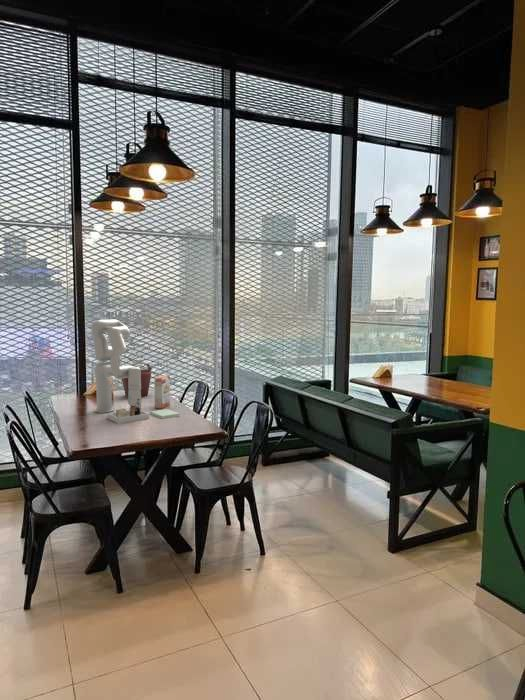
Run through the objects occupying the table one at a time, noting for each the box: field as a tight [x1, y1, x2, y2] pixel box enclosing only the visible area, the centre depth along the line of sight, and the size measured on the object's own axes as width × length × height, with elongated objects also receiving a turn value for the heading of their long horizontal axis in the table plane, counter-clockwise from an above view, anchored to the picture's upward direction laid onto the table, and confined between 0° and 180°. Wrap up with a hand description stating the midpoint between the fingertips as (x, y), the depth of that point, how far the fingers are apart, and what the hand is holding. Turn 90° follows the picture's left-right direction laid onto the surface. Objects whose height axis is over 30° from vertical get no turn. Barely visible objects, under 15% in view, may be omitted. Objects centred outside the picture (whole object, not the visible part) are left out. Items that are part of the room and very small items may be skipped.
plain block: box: [115, 408, 128, 418], centre depth 302 cm, size 5×5×6 cm
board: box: [149, 408, 180, 419], centre depth 315 cm, size 16×12×2 cm
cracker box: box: [154, 374, 171, 410], centre depth 339 cm, size 14×6×21 cm, turn 168°
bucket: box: [121, 362, 153, 398], centre depth 376 cm, size 24×22×25 cm
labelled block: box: [129, 406, 142, 416], centre depth 307 cm, size 5×5×6 cm
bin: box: [107, 409, 150, 424], centre depth 305 cm, size 16×20×4 cm
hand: (135, 415), depth 308 cm, fingers closed on labelled block, 5 cm apart
